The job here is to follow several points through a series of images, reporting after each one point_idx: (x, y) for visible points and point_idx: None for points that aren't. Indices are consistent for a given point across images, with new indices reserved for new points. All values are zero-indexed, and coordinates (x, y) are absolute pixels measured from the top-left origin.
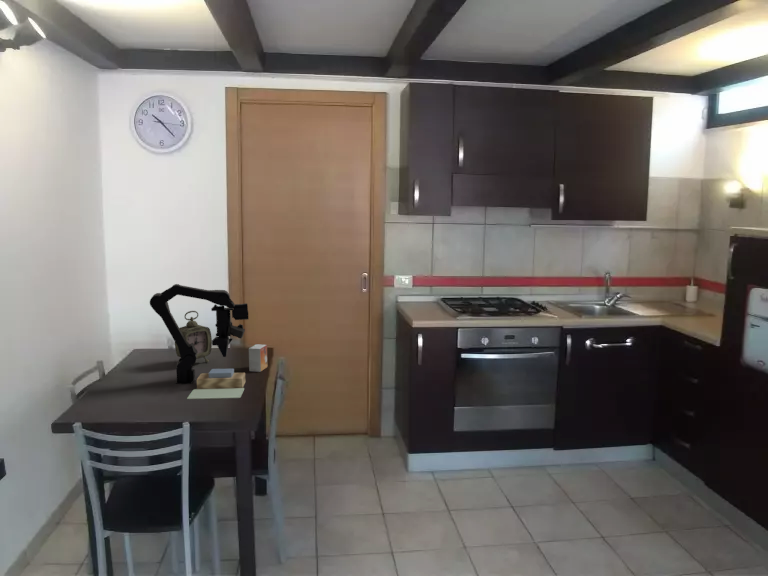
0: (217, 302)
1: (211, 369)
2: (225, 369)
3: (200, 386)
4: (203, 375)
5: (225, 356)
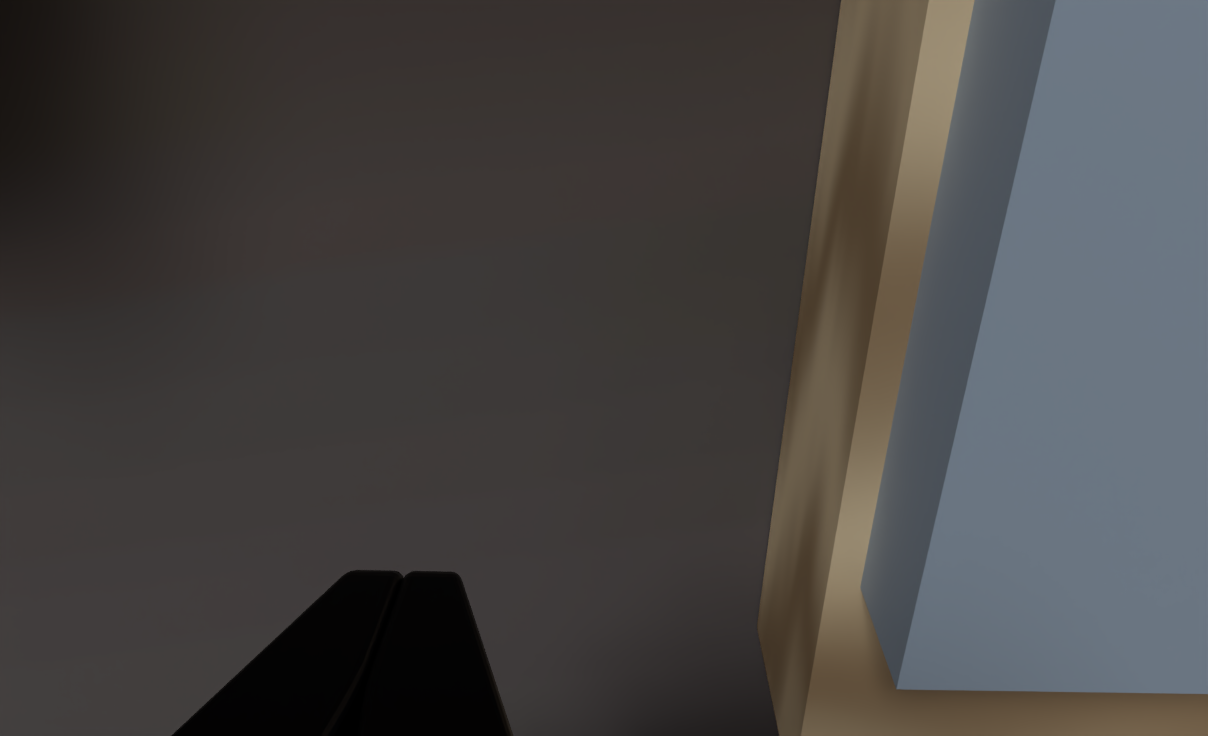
0: None
1: (958, 687)
2: (1100, 283)
3: None
4: (981, 728)
5: (464, 597)
